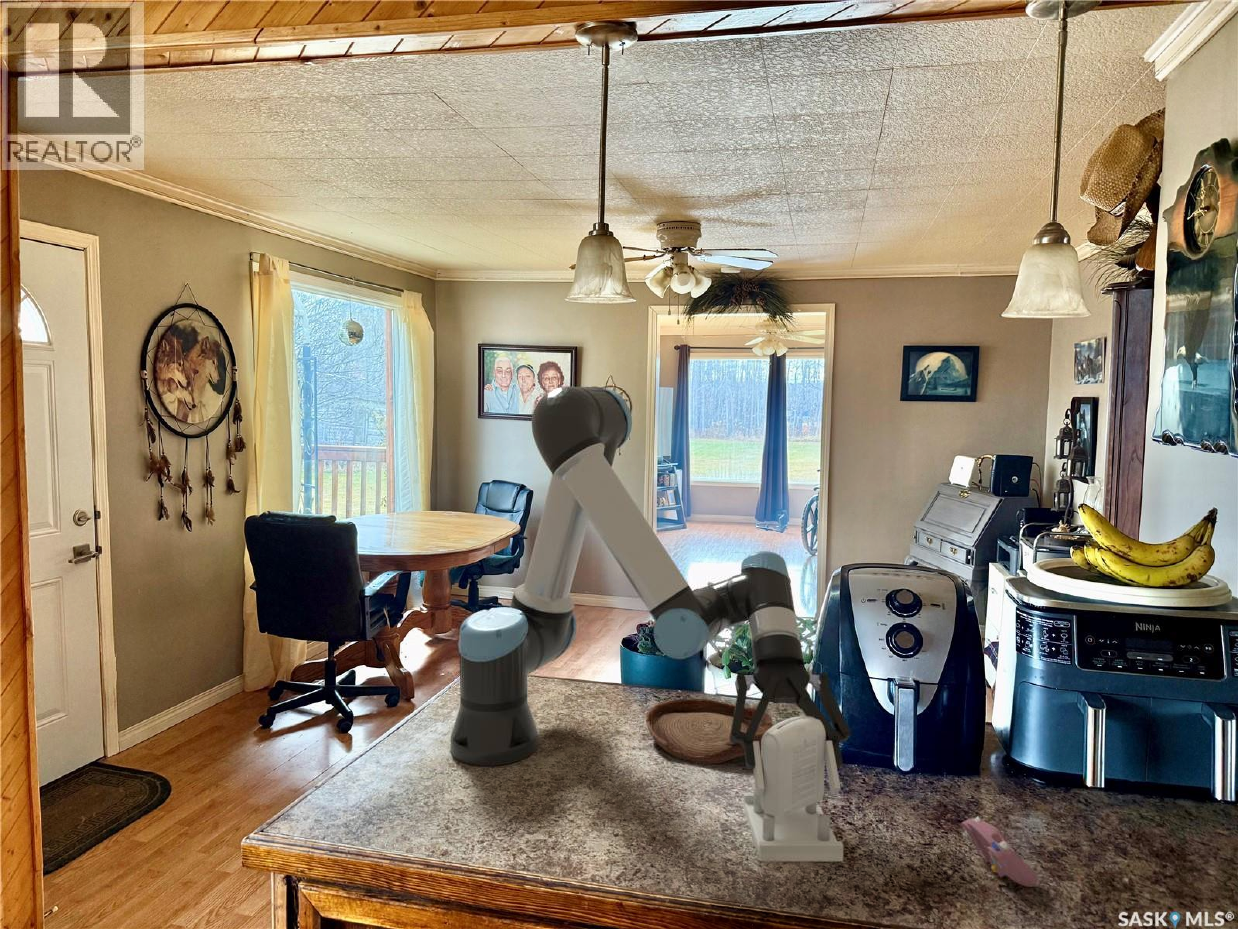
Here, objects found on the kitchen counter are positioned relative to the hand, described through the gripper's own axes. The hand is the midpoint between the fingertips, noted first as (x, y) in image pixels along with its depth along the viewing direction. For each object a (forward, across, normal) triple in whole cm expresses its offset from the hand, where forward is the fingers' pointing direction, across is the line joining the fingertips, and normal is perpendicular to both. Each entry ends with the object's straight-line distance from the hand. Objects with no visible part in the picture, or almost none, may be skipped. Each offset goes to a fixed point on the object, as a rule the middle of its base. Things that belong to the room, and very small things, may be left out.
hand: (798, 791), depth 108 cm
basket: (-18, +8, -29) cm, 35 cm away
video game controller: (+9, -25, -2) cm, 27 cm away
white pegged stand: (+3, 0, -8) cm, 8 cm away
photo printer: (0, 0, -5) cm, 5 cm away
